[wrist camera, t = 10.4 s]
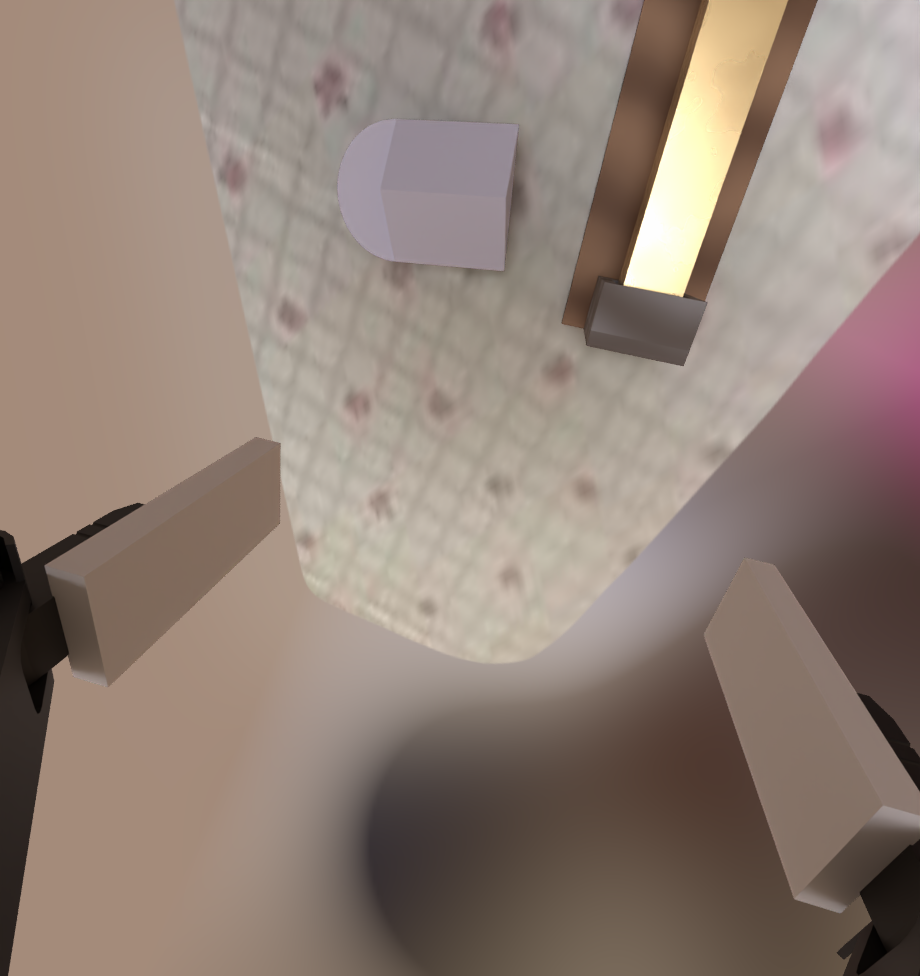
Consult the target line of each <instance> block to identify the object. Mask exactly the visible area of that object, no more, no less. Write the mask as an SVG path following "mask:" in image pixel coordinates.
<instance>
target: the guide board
mask: <svg viewBox="0 0 920 976" xmlns="http://www.w3.org/2000/svg"><path fill="white" fill-rule="evenodd" d="M701 1H702V0H644V4H643V7H642V11H641V15H640V19H639V23H638V27H637V31H636V35H635V39H634V43H633V47H632V50H631V54H630V58H629V62H628V66H627V70H626V74H625V78H624V82H623V86H622V90H621V93H620V97H619V101H618V105H617V109H616V113H615V117H614V121H613V125H612V129H611V133H610V136H609V140H608V144H607V148H606V152H605V156H604V160H603V164H602V168H601V172H600V176H599V179H598V183H597V187H596V191H595V195H594V199H593V203H592V207H591V211H590V215H589V219H588V222H587V226H586V230H585V234H584V238H583V242H582V246H581V250H580V254H579V258H578V262H577V265H576V269H575V273H574V277H573V281H572V285H571V289H570V293H569V297H568V301H567V305H566V308H565V312H564V316H563V320H562V324H565V325H570V326H575V327H580V328H584V333H585V339H586V345H587V346H590V347H595V348H600V349H605V350H609V351H614V352H619V353H623V354H628V355H633V356H637V357H642V358H647V359H652V360H656V361H661V362H666V363H670V364H675V365H680V366H684V364H685V361H686V358H687V356H688V353H689V350H690V348H691V345H692V342H693V340H694V337H695V335H696V332H697V329H698V327H699V324H700V321H701V319H702V316H703V313H704V311H705V308H706V306H707V302H705V299H706V296H707V293H708V291H709V288H710V285H711V283H712V280H713V277H714V275H715V272H716V269H717V267H718V264H719V261H720V259H721V256H722V253H723V251H724V248H725V245H726V243H727V240H728V237H729V235H730V232H731V229H732V227H733V224H734V221H735V219H736V216H737V213H738V211H739V208H740V205H741V203H742V200H743V198H744V195H745V192H746V190H747V187H748V184H749V182H750V179H751V176H752V174H753V171H754V168H755V166H756V163H757V160H758V158H759V155H760V152H761V150H762V147H763V144H764V142H765V139H766V136H767V134H768V131H769V128H770V126H771V123H772V120H773V118H774V115H775V112H776V110H777V107H778V104H779V102H780V99H781V96H782V94H783V91H784V88H785V86H786V83H787V80H788V78H789V75H790V72H791V70H792V67H793V64H794V62H795V59H796V56H797V54H798V51H799V48H800V46H801V43H802V40H803V38H804V35H805V32H806V30H807V27H808V24H809V22H810V19H811V16H812V14H813V11H814V8H815V6H816V3H817V0H788V2H787V5H786V8H785V11H784V13H783V16H782V19H781V22H780V25H779V27H778V30H777V33H776V36H775V39H774V42H773V44H772V47H771V50H770V53H769V56H768V58H767V61H766V64H765V67H764V70H763V73H762V75H761V78H760V81H759V84H758V87H757V89H756V92H755V95H754V98H753V101H752V103H751V106H750V109H749V112H748V115H747V118H746V120H745V123H744V126H743V129H742V132H741V134H740V137H739V140H738V143H737V146H736V149H735V151H734V154H733V157H732V160H731V163H730V165H729V168H728V171H727V174H726V177H725V179H724V182H723V185H722V188H721V191H720V194H719V196H718V199H717V202H716V205H715V208H714V210H713V213H712V216H711V219H710V222H709V225H708V227H707V230H706V233H705V236H704V239H703V241H702V244H701V247H700V250H699V253H698V255H697V258H696V261H695V264H694V267H693V270H692V272H691V275H690V278H689V281H688V284H687V286H686V289H685V292H684V295H683V297H680V296H675V295H669V294H664V293H659V292H654V291H649V290H644V289H639V288H634V287H629V286H624V285H619V284H618V282H619V278H620V275H621V271H622V268H623V265H624V261H625V258H626V254H627V251H628V248H629V244H630V241H631V238H632V234H633V231H634V227H635V224H636V221H637V217H638V214H639V210H640V207H641V204H642V200H643V197H644V194H645V190H646V187H647V183H648V180H649V177H650V173H651V170H652V166H653V163H654V160H655V156H656V153H657V150H658V146H659V143H660V139H661V136H662V133H663V129H664V126H665V122H666V119H667V116H668V112H669V109H670V105H671V102H672V99H673V95H674V92H675V89H676V85H677V82H678V78H679V75H680V72H681V68H682V65H683V61H684V58H685V55H686V51H687V48H688V45H689V41H690V38H691V34H692V31H693V28H694V24H695V21H696V17H697V14H698V11H699V7H700V4H701Z"/></svg>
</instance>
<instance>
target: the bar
mask: <svg viewBox="0 0 920 976" xmlns="http://www.w3.org/2000/svg"><path fill="white" fill-rule="evenodd" d="M787 2H788V0H702V1H701V4H700V7H699V11H698V14H697V17H696V21H695V24H694V28H693V31H692V34H691V38H690V41H689V45H688V48H687V51H686V55H685V58H684V61H683V65H682V68H681V72H680V75H679V78H678V82H677V85H676V89H675V92H674V95H673V99H672V102H671V105H670V109H669V112H668V116H667V119H666V122H665V126H664V129H663V133H662V136H661V139H660V143H659V146H658V150H657V153H656V156H655V160H654V163H653V166H652V170H651V173H650V177H649V180H648V183H647V187H646V190H645V194H644V197H643V200H642V204H641V207H640V210H639V214H638V217H637V221H636V224H635V227H634V231H633V234H632V238H631V241H630V244H629V248H628V251H627V254H626V258H625V261H624V265H623V268H622V271H621V275H620V278H619V282H618V284H619V285H624V286H629V287H634V288H639V289H644V290H649V291H654V292H659V293H664V294H669V295H675V296H680V297H683V295H684V292H685V289H686V286H687V284H688V281H689V278H690V275H691V272H692V270H693V267H694V264H695V261H696V258H697V255H698V253H699V250H700V247H701V244H702V241H703V239H704V236H705V233H706V230H707V227H708V225H709V222H710V219H711V216H712V213H713V210H714V208H715V205H716V202H717V199H718V196H719V194H720V191H721V188H722V185H723V182H724V179H725V177H726V174H727V171H728V168H729V165H730V163H731V160H732V157H733V154H734V151H735V149H736V146H737V143H738V140H739V137H740V134H741V132H742V129H743V126H744V123H745V120H746V118H747V115H748V112H749V109H750V106H751V103H752V101H753V98H754V95H755V92H756V89H757V87H758V84H759V81H760V78H761V75H762V73H763V70H764V67H765V64H766V61H767V58H768V56H769V53H770V50H771V47H772V44H773V42H774V39H775V36H776V33H777V30H778V27H779V25H780V22H781V19H782V16H783V13H784V11H785V8H786V5H787Z"/></svg>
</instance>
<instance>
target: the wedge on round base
mask: <svg viewBox="0 0 920 976" xmlns="http://www.w3.org/2000/svg"><path fill="white" fill-rule="evenodd" d="M518 131H519V124H502V123H480V122H458V121H436V120H413V119H386V120H382V121H378V122H376V123H373V124H371V125H370V126H368V127H366V128H365V129H363V130H362V131H361V132H360V133H359V134H358V135H357V136H356V137H355V138H354V139H353V140H352V142H351V143H350V145H349V146H348V148H347V150H346V152H345V154H344V156H343V158H342V162H341V165H340V169H339V174H338V183H337V191H338V201H339V206H340V210H341V214H342V216H343V219H344V222H345V224H346V226H347V228H348V230H349V231H350V233H351V234H352V236H353V237H354V238H355V240H356V241H357V242H358V243H359V244H360V245H361V246H362V247H363V248H364V249H366V250H367V251H368V252H370V253H371V254H373V255H375V256H377V257H379V258H382V259H385V260H388V261H394V262H405V263H417V264H428V265H440V266H451V267H462V268H474V269H485V270H497V271H504V270H505V260H506V250H507V240H508V230H509V220H510V210H511V201H512V191H513V181H514V171H515V161H516V151H517V141H518Z"/></svg>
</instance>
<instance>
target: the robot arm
mask: <svg viewBox="0 0 920 976" xmlns="http://www.w3.org/2000/svg"><path fill="white" fill-rule="evenodd" d="M279 524H280V443H278V442H274V441H270V440H265V439H262V438H257V437H255V438H254V439H252V440H250V441H249V442H247V443H245V444H244V445H242V446H241V447H239V448H237V449H236V450H234V451H232V452H231V453H229V454H227V455H226V456H224V457H222V458H221V459H219V460H217V461H216V462H214V463H213V464H211V465H209V466H208V467H206V468H204V469H203V470H201V471H199V472H198V473H196V474H194V475H193V476H191V477H189V478H188V479H186V480H184V481H183V482H181V483H180V484H178V485H176V486H175V487H173V488H171V489H170V490H168V491H166V492H165V493H163V494H161V495H160V496H158V497H157V498H155V499H153V500H152V501H150V502H148V503H147V504H140V503H136V504H133V505H130V506H127V507H123V508H121V509H117V510H114V511H112V512H110V513H108V514H107V515H105V516H103V517H102V518H100V519H98V520H96V521H95V522H94V523H93V525H88V526H86V527H84V528H82V529H81V530H79V531H77V534H76V535H74V534H72V535H70V536H69V537H67V538H65V539H63V540H62V541H60V542H58V543H57V544H55V545H53V546H51V547H50V548H48V549H46V550H45V551H43V552H41V553H39V554H38V555H36V556H35V557H32V558H31V559H29V560H27V561H26V562H24V563H22V564H21V561H20V558H19V554H18V551H17V547H16V544H15V540H14V537H13V536H12V535H10V534H8V533H7V532H6V531H2V530H0V976H8V972H9V966H10V959H11V953H12V947H13V939H14V934H15V928H16V921H17V915H18V909H19V902H20V896H21V889H22V883H23V876H24V870H25V864H26V856H27V851H28V845H29V838H30V832H31V825H32V819H33V813H34V807H35V800H36V794H37V786H38V781H39V774H40V768H41V762H42V755H43V749H44V742H45V736H46V730H47V723H48V717H49V711H50V704H51V698H52V692H53V685H54V679H53V673H52V668H53V667H54V666H55V665H57V664H58V663H59V662H60V661H61V660H63V659H64V658H65V657H66V656H67V655H68V658H69V662H70V665H71V669H72V673H73V677H76V678H79V679H82V680H85V681H89V682H92V683H95V684H99V685H102V686H105V687H109V686H110V685H111V684H112V683H113V682H114V681H115V680H116V679H117V678H118V677H120V676H121V674H123V673H124V672H125V671H126V670H127V669H128V668H129V667H130V666H131V665H132V664H133V663H134V662H135V661H136V660H137V659H138V658H139V657H141V656H142V655H143V654H144V653H145V652H146V651H147V650H148V649H149V648H150V647H151V646H152V645H153V644H154V643H155V642H156V641H157V640H158V639H159V638H160V637H161V636H163V635H164V634H165V633H166V632H167V631H168V630H169V629H170V628H171V627H172V626H173V625H174V624H175V623H176V622H177V621H178V620H179V619H180V618H181V617H182V616H183V615H184V614H186V613H187V612H188V611H189V610H190V609H191V608H192V607H193V606H194V605H195V604H196V603H197V602H198V601H199V600H200V599H201V598H202V597H203V596H204V595H205V594H206V593H208V592H209V591H210V590H211V589H212V588H213V587H214V586H215V585H216V584H217V583H218V582H219V581H220V580H221V579H222V578H223V577H224V576H225V575H226V574H227V573H229V572H230V571H231V570H232V569H233V568H234V567H235V566H236V565H237V564H238V563H239V562H240V561H241V560H242V559H243V558H244V557H245V556H246V555H247V554H248V553H249V552H250V551H252V549H254V548H255V547H256V546H257V545H258V544H259V543H260V542H261V541H262V540H263V539H264V538H265V537H266V536H267V535H268V534H269V533H270V532H271V531H272V530H273V529H275V527H277V526H278V525H279ZM704 638H705V640H706V643H707V646H708V649H709V652H710V655H711V658H712V661H713V664H714V666H715V669H716V673H717V675H718V678H719V681H720V684H721V687H722V690H723V693H724V696H725V699H726V702H727V705H728V708H729V710H730V713H731V716H732V719H733V722H734V725H735V728H736V731H737V734H738V737H739V740H740V742H741V745H742V748H743V751H744V754H745V757H746V760H747V763H748V766H749V769H750V772H751V774H752V777H753V780H754V783H755V786H756V789H757V792H758V795H759V798H760V801H761V804H762V807H763V810H764V812H765V815H766V818H767V821H768V824H769V827H770V830H771V833H772V836H773V838H774V842H775V844H776V847H777V850H778V853H779V856H780V859H781V862H782V865H783V868H784V871H785V873H786V876H787V879H788V882H789V885H790V888H791V891H792V894H793V897H794V899H796V900H799V901H802V902H806V903H809V904H812V905H815V906H819V907H822V908H825V909H828V910H831V911H835V912H838V913H842V912H843V911H844V909H846V908H847V907H848V906H849V905H850V904H851V903H852V902H853V901H854V900H855V899H856V898H857V897H859V896H860V895H861V897H862V899H863V902H864V904H865V906H866V908H867V911H868V913H869V915H870V917H871V919H872V921H871V922H870V923H869V924H868V925H867V926H865V927H864V928H863V929H862V930H861V931H860V932H859V933H858V934H856V935H855V936H854V937H853V938H852V939H851V940H850V941H849V942H847V943H846V944H845V945H844V946H843V947H842V948H841V949H840V950H839V951H838V952H837V954H838V955H840V957H842V958H843V959H845V958H846V957H848V956H849V955H850V954H851V953H852V955H851V957H850V959H849V962H848V964H847V967H846V969H845V972H844V974H843V976H920V757H919V756H918V754H917V753H916V752H915V750H914V749H913V748H910V743H909V741H908V740H907V738H906V737H905V735H904V734H903V732H902V731H901V729H900V728H899V727H898V725H897V724H896V722H895V721H894V719H893V718H892V717H890V715H888V714H887V713H886V712H885V711H884V710H883V709H882V708H881V707H880V706H879V705H878V704H877V703H876V702H875V701H874V700H873V699H872V698H871V697H870V696H867V695H863V694H859V693H856V692H855V690H854V688H853V687H852V685H851V684H850V682H849V681H848V679H847V678H846V676H845V674H844V673H843V671H842V670H841V668H840V667H839V665H838V664H837V662H836V660H835V659H834V657H833V656H832V654H831V653H830V651H829V649H828V648H827V646H826V645H825V643H824V642H823V640H822V639H821V637H820V635H819V634H818V632H817V631H816V629H815V628H814V626H813V624H812V623H811V621H810V620H809V618H808V617H807V615H806V614H805V612H804V610H803V609H802V607H801V606H800V604H799V603H798V601H797V599H796V598H795V596H794V595H793V593H792V592H791V590H790V589H789V587H788V585H787V584H786V582H785V581H784V579H783V578H782V576H781V575H780V573H779V572H778V570H777V568H776V567H775V566H774V565H772V564H769V563H765V562H761V561H757V560H752V559H749V558H744V559H743V561H742V563H741V565H740V567H739V569H738V571H737V573H736V574H735V576H734V579H733V580H732V582H731V584H730V586H729V588H728V590H727V591H726V593H725V595H724V597H723V599H722V601H721V603H720V605H719V607H718V608H717V610H716V612H715V614H714V616H713V618H712V620H711V622H710V624H709V626H708V627H707V629H706V631H705V633H704Z"/></svg>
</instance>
